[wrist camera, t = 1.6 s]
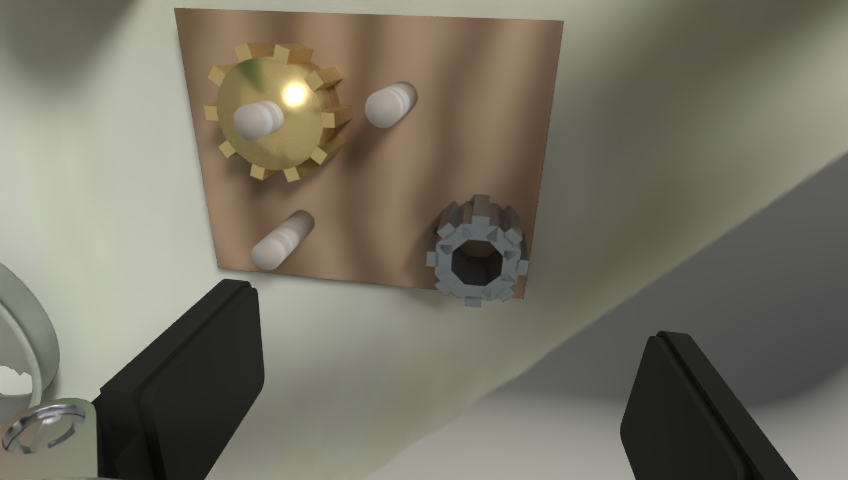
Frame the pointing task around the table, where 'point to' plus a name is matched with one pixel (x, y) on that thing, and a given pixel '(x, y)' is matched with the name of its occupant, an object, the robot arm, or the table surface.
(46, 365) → the cake pan
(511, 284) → the steel gear
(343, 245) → the board
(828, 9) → the table surface
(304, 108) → the brass gear
